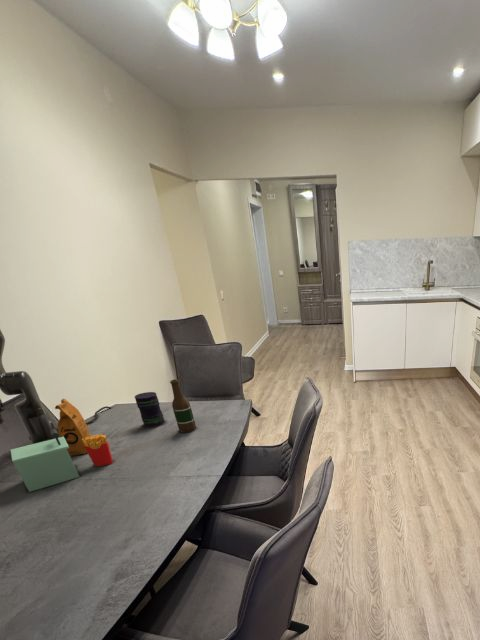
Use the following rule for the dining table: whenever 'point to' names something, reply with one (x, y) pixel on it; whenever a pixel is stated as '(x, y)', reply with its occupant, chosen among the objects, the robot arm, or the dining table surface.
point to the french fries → (98, 449)
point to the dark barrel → (150, 409)
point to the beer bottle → (182, 409)
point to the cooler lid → (39, 448)
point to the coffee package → (72, 427)
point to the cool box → (46, 470)
